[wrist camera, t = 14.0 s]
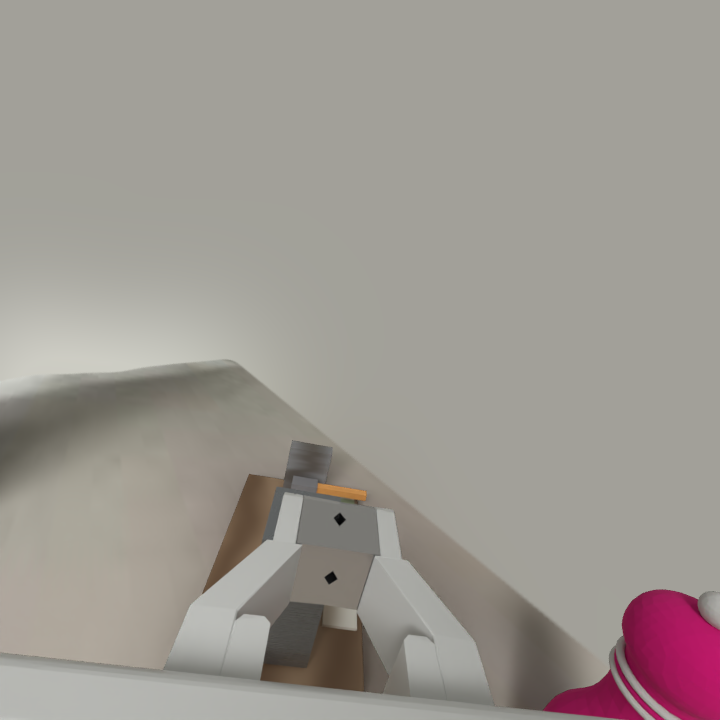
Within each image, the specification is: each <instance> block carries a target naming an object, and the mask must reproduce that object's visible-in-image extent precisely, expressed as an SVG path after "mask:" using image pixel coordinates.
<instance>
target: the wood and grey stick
mask: <svg viewBox="0 0 720 720" xmlns="http://www.w3.org/2000/svg"><path fill="white" fill-rule="evenodd" d="M291 489H295V490H301V491H307V492H313V493H320V494H326V495H332V496H338V497H344V498H350V499H356V500H362V501H365V500H366V496H367V494H366V491H362V490H356V489H351V488H345V487H339V486H333V485H327V484H321V483H318V480H317V479H311V478H305V477H299V476H293V480H292V485H291Z"/></svg>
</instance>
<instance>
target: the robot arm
mask: <svg viewBox="0 0 720 720" xmlns="http://www.w3.org/2000/svg"><path fill="white" fill-rule="evenodd" d="M289 601H292V602H302V603H312V604H322V605H328V606H335V607H341V608H347V609H353V610H357V614H358V616H359V618H360V620H361V622H362V623H363V625H364V627H365V629H366V631H367V633H368V635H369V637H370V639H371V641H372V643H373V645H374V647H375V649H376V651H377V653H378V655H379V657H380V659H381V661H382V663H383V665H384V667H385V669H386V671H387V673H388V675H389V678H388V681H387V683H386V686H385V688H384V691H383V693H382V694H379V693H370V692H361V691H351V690H342V689H333V688H324V687H315V686H306V685H296V684H287V683H278V682H269V681H260V678H261V672H262V667H263V662H264V656H265V651H266V645H267V640H268V634H269V629H270V627H271V626H272V625H273V624H274V622H275V621H276V620H277V618H278V617H279V616H280V615H281V613H282V612H283V611H284V609H285V608H286V607H287V606H288V604H289ZM0 720H622V719H612V718H603V717H594V716H585V715H575V714H566V713H557V712H548V711H539V710H529V709H520V708H511V707H501V706H495V705H494V702H493V699H492V695H491V692H490V689H489V685H488V682H487V679H486V676H485V672H484V669H483V666H482V662H481V659H480V656H479V653H478V649H477V646H476V643H475V641H474V640H473V638H472V637H471V636H470V635H469V634H468V632H467V631H466V630H465V629H464V628H463V626H462V625H461V624H460V623H459V622H458V620H457V619H456V618H455V617H454V616H453V614H452V613H451V612H450V611H449V610H448V608H447V607H446V606H445V605H444V603H443V602H442V601H441V600H440V599H439V597H438V596H437V595H436V594H435V593H434V591H433V590H432V589H431V588H430V587H429V585H428V584H427V583H426V582H425V581H424V579H423V578H422V577H421V576H420V575H419V573H418V572H417V571H416V570H415V569H414V567H413V566H412V565H411V564H410V563H409V561H408V560H402V555H401V549H400V543H399V537H398V531H397V525H396V519H395V513H394V511H393V510H392V509H386V508H379V507H369V506H363V505H357V504H350V503H344V502H338V501H332V500H327V499H322V498H316V497H311V496H306V495H304V497H303V495H299V494H293V493H288V492H285V493H284V496H283V500H282V504H281V508H280V512H279V517H278V521H277V525H276V529H275V534H274V538H273V540H266V541H265V542H264V543H262V544H261V545H260V546H259V547H258V548H257V549H255V550H254V551H253V552H252V553H251V554H250V555H248V556H247V557H246V558H245V559H244V560H242V561H241V562H240V563H239V564H238V565H237V566H235V567H234V568H233V569H232V570H231V571H229V572H228V573H227V574H226V575H225V576H224V577H222V578H221V579H220V580H219V581H218V582H217V583H215V584H214V585H213V586H212V587H211V588H209V589H208V590H207V591H206V592H205V593H204V594H202V595H201V596H200V597H199V598H198V599H196V600H195V601H194V602H193V603H192V604H191V605H190V607H189V609H188V612H187V614H186V616H185V619H184V621H183V624H182V626H181V628H180V631H179V633H178V635H177V638H176V640H175V643H174V645H173V647H172V650H171V652H170V655H169V657H168V659H167V662H166V664H165V667H164V669H163V670H158V669H149V668H139V667H130V666H121V665H112V664H102V663H93V662H84V661H75V660H65V659H56V658H47V657H38V656H28V655H19V654H10V653H1V652H0Z"/></svg>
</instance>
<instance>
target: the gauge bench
mask: <svg viewBox="0 0 720 720" xmlns="http://www.w3.org/2000/svg"><path fill="white" fill-rule="evenodd" d="M332 449H333V448H332V447H326V446H321V445H315V444H310V443H304V442H299V441H293V440H292V444H291V448H290V453H289V458H288V464H287V469H286V474H285V479H284V480H282V479H276V478H270V477H264V476H258V475H252V474H249V476H248V478H247V481H246V484H245V486H244V489H243V491H242V494H241V496H240V499H239V501H238V504H237V506H236V509H235V512H234V514H233V517H232V519H231V522H230V524H229V527H228V529H227V532H226V535H225V537H224V540H223V542H222V545H221V547H220V550H219V552H218V555H217V557H216V560H215V563H214V565H213V568H212V570H211V573H210V575H209V578H208V580H207V583H206V585H205V588H204V591H203V593H202V594H204V593H205V592H206V591H207V590H208V589H209V588H211V587H212V586H213V585H214V584H215V583H217V582H218V581H219V580H220V579H221V578H222V577H224V576H225V575H226V574H227V573H228V572H229V571H231V570H232V569H233V568H234V567H235V566H237V565H238V564H239V563H240V562H241V561H242V560H244V559H245V558H246V557H247V556H248V555H250V554H251V553H252V552H253V551H254V550H255V549H257V548H258V547H259V546H260V545H261V543H262V538H263V535H264V531H265V527H266V524H267V520H268V516H269V512H270V509H271V505H272V501H273V498H274V494H275V490H276V487H283V488H289V489H291V485H292V480H293V476H299V477H305V478H311V479H317V480H318V483H321V484H325V482H326V478H327V474H328V470H329V466H330V461H331V457H332ZM319 494H320V493H319ZM325 495H326V494H325ZM331 496H332V495H331ZM337 497H338V496H337ZM341 502H344V503H350V504H357V505H358V500H356V499H350V498H344V497H341ZM260 681H269V682H278V683H287V684H296V685H306V686H315V687H324V688H333V689H342V690H351V691H361V692H364V678H363V648H362V622H361V620H360V618H359V616H358V614H357V610H353V609H347V608H341V607H335V606H328V605H324V608H323V611H322V615H321V619H320V622H319V626H318V629H317V633H316V637H315V640H314V644H313V647H312V651H311V654H310V658H309V662H308V665H307V668H300V667H291V666H282V665H273V664H264V663H263V667H262V672H261V678H260Z"/></svg>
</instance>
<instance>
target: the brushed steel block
mask: <svg viewBox="0 0 720 720" xmlns="http://www.w3.org/2000/svg"><path fill="white" fill-rule="evenodd" d="M285 492H288V493H293V494H299V495H303V497H304V495H306V496H311V497H316V498H322V499H327V500H332V501H338V502H341V497H337V496H331V495H325V494H319V493H313V492H307V491H301V490H295V489H289V488H283V487H276V490H275V494H274V498H273V501H272V505H271V509H270V512H269V516H268V520H267V524H266V527H265V531H264V535H263V538H262V543H264V542H265V541H266V540H273V538H274V534H275V529H276V525H277V521H278V517H279V512H280V508H281V504H282V500H283V496H284V493H285ZM262 543H261V544H262ZM323 608H324V605H322V604H312V603H302V602H292V601H289V604H288V606H287V607H286V608H285V609H284V611H283V612H282V613H281V615H280V616H279V617H278V618H277V620H276V621H275V622H274V624H273V625H272V626H271V627H270V629H269V634H268V640H267V645H266V651H265V656H264V662H263V663H264V664H273V665H282V666H291V667H300V668H307V665H308V662H309V658H310V654H311V651H312V647H313V644H314V640H315V637H316V633H317V629H318V626H319V622H320V619H321V615H322V611H323Z"/></svg>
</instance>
